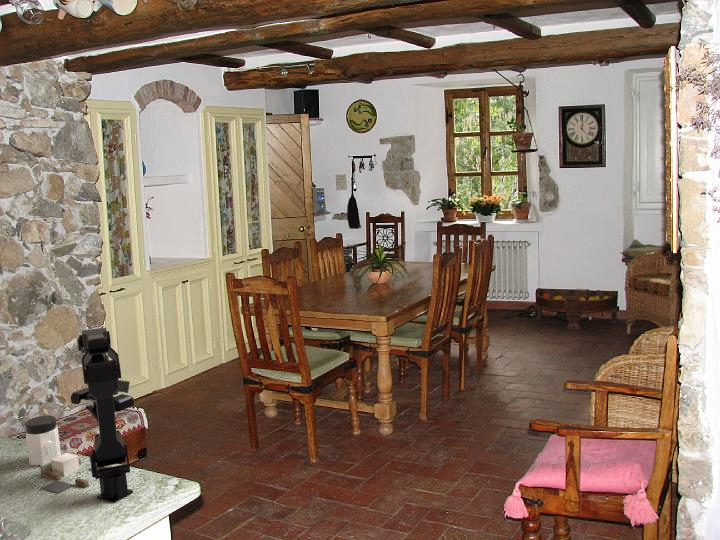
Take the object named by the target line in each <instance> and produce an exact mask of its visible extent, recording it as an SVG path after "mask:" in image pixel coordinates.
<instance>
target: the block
mask: <svg viewBox="0 0 720 540" xmlns="http://www.w3.org/2000/svg"><path fill="white" fill-rule="evenodd" d="M78 458H79V456H78V455H76V454H69V452H65V453H63V454H62V453H61V455H60V456H58V457H56V458H53V459H51V464H52V471H54V472H57V473H61V477H65V476H67V475H69V474H72V473H75V472H77V471H78V470H80V469H81V468H80V464H79V460H78Z"/></svg>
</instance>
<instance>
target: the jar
mask: <svg viewBox="0 0 720 540" xmlns="http://www.w3.org/2000/svg"><path fill="white" fill-rule="evenodd" d="M24 425H25V427H24V428H25V431H26V433H25V439H26V447H27V454H28V460H29V461H28V463H29V465H30V466H38V465H40V467H41V466H43V465H45V464H47V463H50V462H51V459H53V458H56V457H58V456H60V455H62V450H61V444H60V435H59V427H58V424H57V418H56V417H55V416H54V415H40V416H34V417H32V418H30V419H28V420H27V421H26V422H25V423H24Z"/></svg>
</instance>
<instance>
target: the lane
mask: <svg viewBox="0 0 720 540" xmlns="http://www.w3.org/2000/svg"><path fill="white" fill-rule="evenodd" d="M68 453H69V452H68ZM69 454H73V453H72V452H70V453H69ZM73 455H74V454H73ZM78 460H79V465H81V464H82V463H81V462H82V461H81V458H79V457H78ZM108 467H113V465H109V466H104V467H97V464H96V468H97V470H98V469H103V468H108ZM40 475H41V476H42V477H46V478H49V479H52V478H53V480H55V481H56V480H58V481H60V480H61V479H62V475H61V473H57V472H54V471H52V464H51V462H50V463H47V464H45V465H43V466H40ZM74 483H75V486H78V487H82V488H88V487H89V486H90V484H89V480H87V479H83V478H80V477H77V478H75V479H74Z"/></svg>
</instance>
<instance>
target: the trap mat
mask: <svg viewBox="0 0 720 540" xmlns="http://www.w3.org/2000/svg"><path fill="white" fill-rule="evenodd" d="M74 486H75V485H74V484H73V483H72V484H71V483H68V482H65V481H62V480H56V479H55V480H53V481H52V482H50V483H47V484H46V485H43V486H42V487H40V488H39V489H41V490H44V491H48V492H51V493H53V494H54V493H55V494H56V495H58V494H60V493H63V492H64V491H67V490H69V489H70V488H72V487H74Z"/></svg>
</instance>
